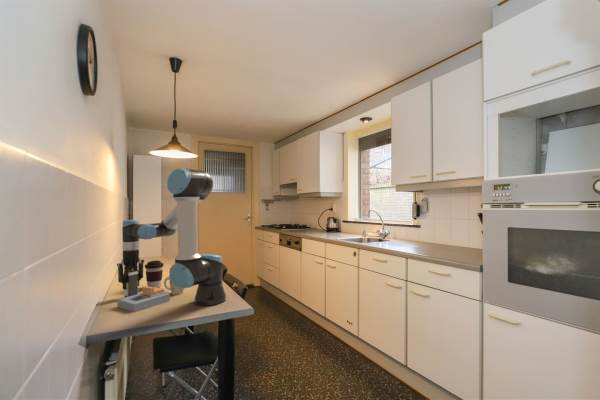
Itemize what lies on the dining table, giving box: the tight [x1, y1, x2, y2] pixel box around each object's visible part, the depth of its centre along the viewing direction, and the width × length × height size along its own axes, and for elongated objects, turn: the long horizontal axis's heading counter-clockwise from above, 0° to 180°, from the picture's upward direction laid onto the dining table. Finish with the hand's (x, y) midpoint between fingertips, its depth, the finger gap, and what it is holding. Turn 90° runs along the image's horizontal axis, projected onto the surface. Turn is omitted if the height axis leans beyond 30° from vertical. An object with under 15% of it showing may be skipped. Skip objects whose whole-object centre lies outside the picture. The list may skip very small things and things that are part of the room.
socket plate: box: [116, 291, 171, 313], centre depth 150 cm, size 14×18×4 cm
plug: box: [124, 267, 139, 298], centre depth 161 cm, size 5×5×16 cm
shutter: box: [142, 285, 165, 296], centre depth 155 cm, size 7×7×4 cm
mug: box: [163, 274, 185, 296], centre depth 168 cm, size 8×13×10 cm, turn 78°
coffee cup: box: [144, 260, 164, 288], centre depth 180 cm, size 10×10×15 cm
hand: (131, 294), depth 161 cm, fingers closed on plug, 4 cm apart
